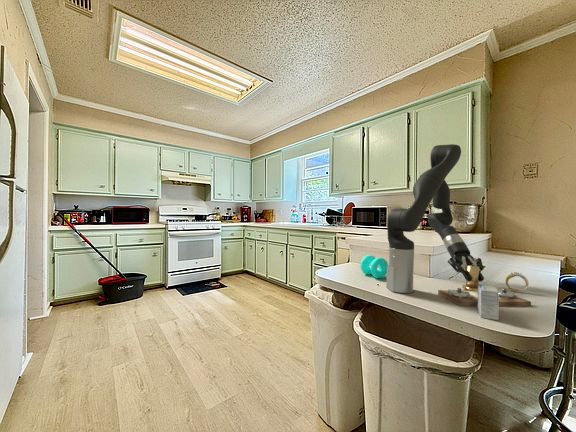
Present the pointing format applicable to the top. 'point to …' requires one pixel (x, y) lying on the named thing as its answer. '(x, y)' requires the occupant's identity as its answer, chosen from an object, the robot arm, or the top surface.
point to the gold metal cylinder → (474, 274)
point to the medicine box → (488, 302)
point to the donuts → (374, 266)
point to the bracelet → (514, 276)
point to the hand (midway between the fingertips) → (476, 280)
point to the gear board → (474, 299)
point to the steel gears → (462, 294)
